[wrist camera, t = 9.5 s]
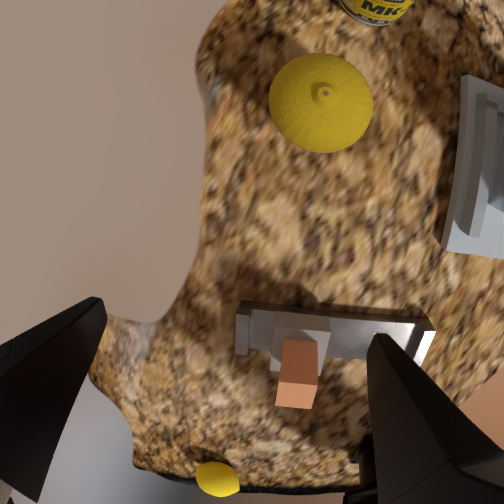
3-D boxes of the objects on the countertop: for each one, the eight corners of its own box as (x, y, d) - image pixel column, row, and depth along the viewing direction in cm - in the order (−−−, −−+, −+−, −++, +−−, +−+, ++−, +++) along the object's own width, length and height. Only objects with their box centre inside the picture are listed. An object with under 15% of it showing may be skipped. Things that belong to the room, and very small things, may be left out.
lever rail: (414, 354, 24) (419, 368, 22) (239, 339, 26) (235, 353, 24) (428, 317, 23) (435, 331, 21) (241, 300, 25) (236, 314, 23)
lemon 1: (196, 458, 37) (181, 484, 32) (213, 448, 35) (198, 477, 30) (233, 481, 37) (222, 507, 32) (254, 472, 35) (243, 501, 30)
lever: (319, 359, 24) (319, 418, 18) (272, 354, 25) (261, 412, 19) (329, 316, 23) (334, 375, 17) (277, 311, 23) (267, 368, 17)
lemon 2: (374, 112, 18) (414, 103, 11) (316, 165, 20) (324, 185, 13) (315, 54, 17) (322, 11, 10) (258, 108, 19) (231, 94, 12)
